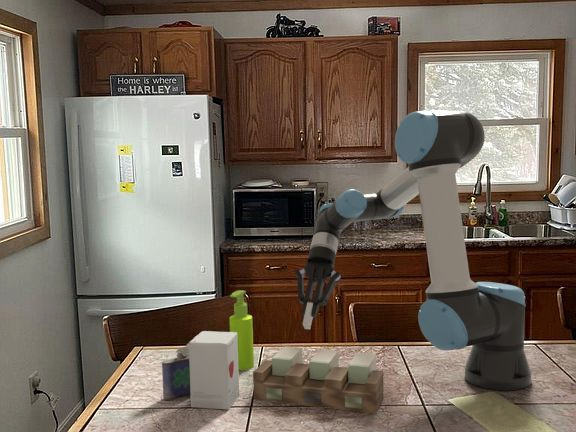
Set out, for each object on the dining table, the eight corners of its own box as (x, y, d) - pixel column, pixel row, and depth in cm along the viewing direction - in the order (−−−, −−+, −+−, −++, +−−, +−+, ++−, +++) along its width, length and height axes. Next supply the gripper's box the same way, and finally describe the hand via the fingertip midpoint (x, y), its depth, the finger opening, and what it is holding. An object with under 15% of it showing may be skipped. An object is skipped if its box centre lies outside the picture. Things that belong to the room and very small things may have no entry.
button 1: (302, 363, 155) (302, 347, 155) (290, 376, 147) (290, 360, 146) (285, 362, 157) (284, 346, 156) (272, 375, 148) (271, 358, 148)
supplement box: (229, 410, 139) (226, 343, 138) (190, 408, 141) (187, 342, 139) (240, 394, 148) (238, 331, 146) (203, 392, 150) (201, 330, 148)
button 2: (376, 370, 149) (376, 353, 149) (368, 384, 141) (368, 367, 140) (357, 368, 151) (357, 352, 150) (348, 382, 142) (348, 365, 142)
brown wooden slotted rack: (383, 399, 143) (383, 371, 143) (376, 414, 136) (376, 384, 135) (266, 386, 152) (265, 360, 152) (253, 400, 145) (252, 372, 144)
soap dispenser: (225, 370, 164) (222, 293, 162) (237, 361, 171) (234, 287, 168) (246, 372, 162) (243, 295, 160) (257, 363, 168) (255, 289, 166)
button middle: (338, 367, 152) (338, 350, 152) (328, 380, 144) (328, 363, 143) (320, 365, 154) (320, 349, 153) (309, 378, 145) (309, 361, 145)
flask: (165, 402, 145) (163, 356, 144) (161, 397, 147) (159, 352, 146) (203, 393, 150) (201, 348, 148) (198, 389, 152) (196, 345, 151)
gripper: (347, 260, 181) (333, 335, 168) (303, 258, 186) (286, 331, 172) (343, 245, 176) (327, 321, 162) (297, 243, 180) (279, 317, 166)
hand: (306, 326), depth 167 cm, fingers closed
